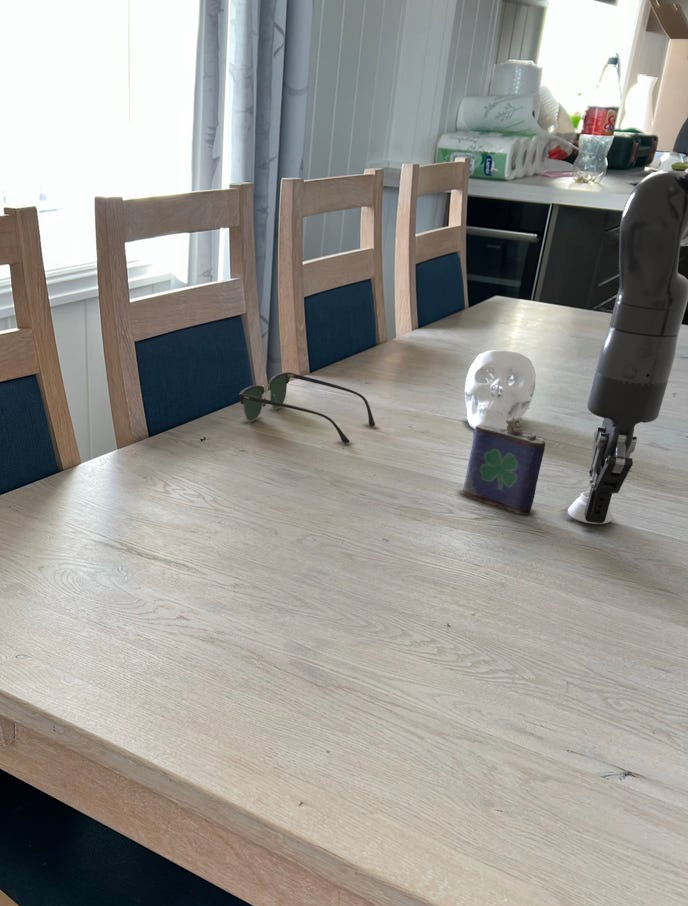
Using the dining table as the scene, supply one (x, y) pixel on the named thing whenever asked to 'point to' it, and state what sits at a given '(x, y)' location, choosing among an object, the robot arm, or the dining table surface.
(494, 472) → the flask
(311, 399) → the dining table surface
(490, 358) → the skull bowl
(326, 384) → the sunglasses
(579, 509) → the small white bowl
